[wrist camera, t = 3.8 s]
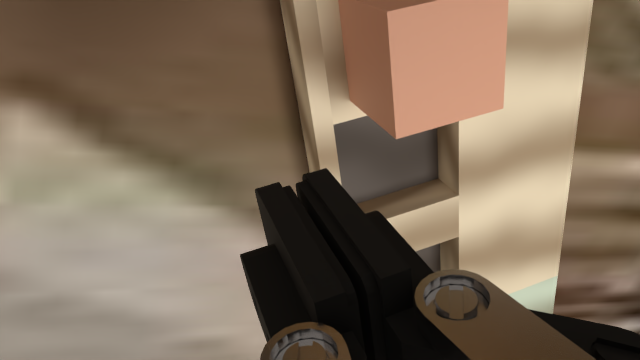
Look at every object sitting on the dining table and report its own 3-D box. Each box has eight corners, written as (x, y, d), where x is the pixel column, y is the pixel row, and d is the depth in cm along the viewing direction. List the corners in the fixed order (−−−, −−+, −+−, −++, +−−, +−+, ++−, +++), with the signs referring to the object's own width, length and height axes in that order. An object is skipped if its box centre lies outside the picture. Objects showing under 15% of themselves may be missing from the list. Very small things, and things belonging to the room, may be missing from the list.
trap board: (274, -28, 23) (303, -17, 19) (566, -86, 26) (639, -86, 23) (349, 401, 39) (373, 454, 35) (526, 330, 42) (566, 371, 38)
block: (337, -7, 22) (387, 11, 18) (439, -29, 23) (509, -17, 19) (349, 100, 24) (395, 139, 20) (441, 76, 25) (503, 108, 21)
